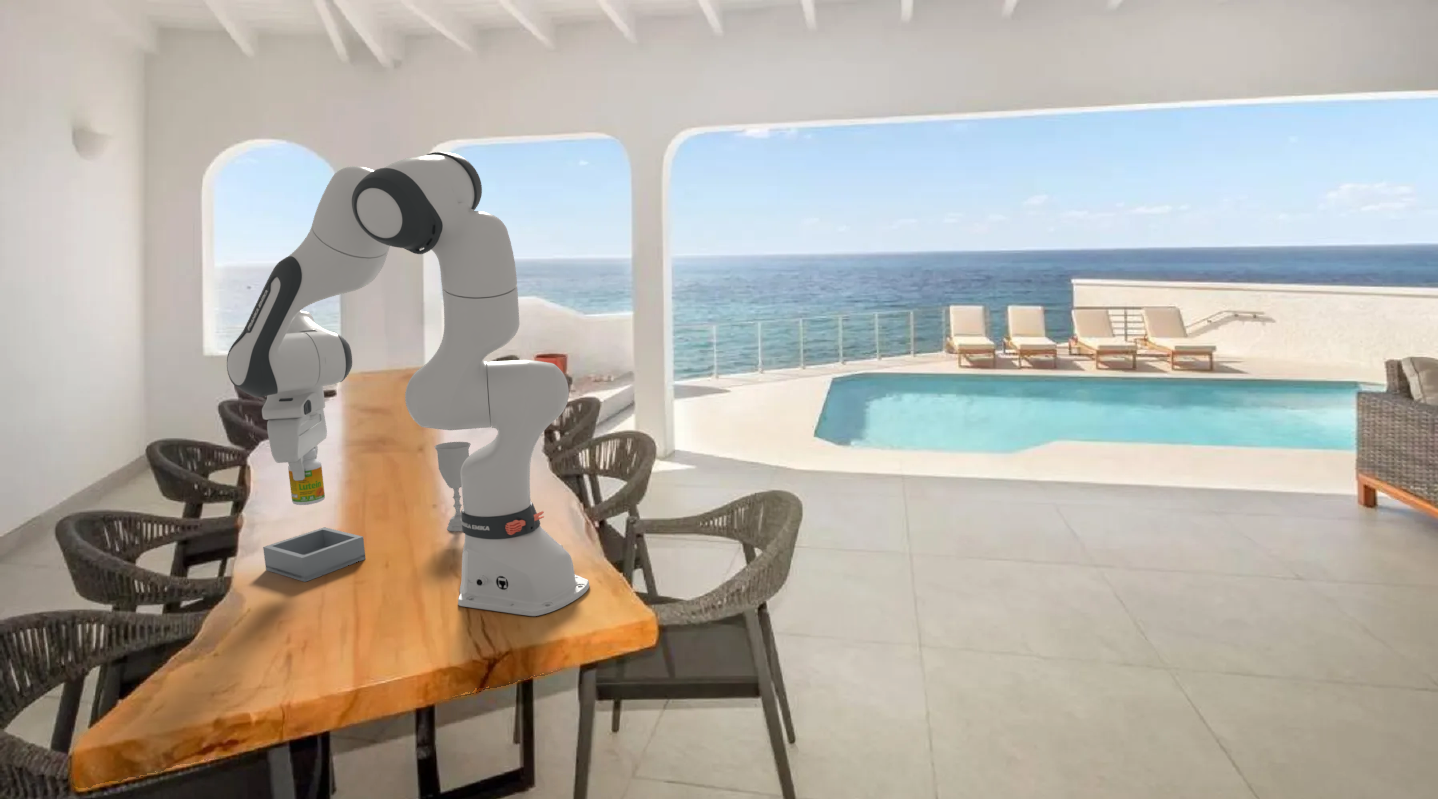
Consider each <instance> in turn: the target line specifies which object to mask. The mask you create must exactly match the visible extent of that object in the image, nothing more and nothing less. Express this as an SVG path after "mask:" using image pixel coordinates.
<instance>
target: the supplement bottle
mask: <svg viewBox="0 0 1438 799" xmlns="http://www.w3.org/2000/svg"><path fill="white" fill-rule="evenodd" d="M315 457H316V450H315V449H314V448H313V449H312V450H310V451H309V452H308V453H306V454H305V455H304V456H303V466H304V469H306V478H305V479H303V480H299V481H295V480H294V479H293V473H292V470H291V468H290V466H289V465H288V476H289V478H288V479H289V486H290V494H291V496H290V497H291V502H292V503H293V505H296V506H297V505H298V506H308V505H312V504H317V503H320V502H322V501H323V500H325V498H326V496H325V486H324V476H323V468H322V462H321V461H320V460H319V459H318V458H317V459H315Z"/></svg>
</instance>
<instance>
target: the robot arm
mask: <svg viewBox="0 0 1438 799" xmlns="http://www.w3.org/2000/svg"><path fill="white" fill-rule="evenodd" d="M482 194H483V186H482V181H481V178H480V176H479V173H478V172H477V169H475V167H474V166H473V165H472V164H471V162H470V161H469V160H468V159H466V158H465V157H463V156H461V155H460V154H456V153H452V152H445V151H444V152H443V151H437V152H435V151H434V152H430V153H427V154H425V155H420V156H415V157H406V158H403V159H400V160H397V161H395V162H393V163H391V164H387V166H385V167H382V168H377V169H371V168H368V167H364V166H353V165H352V166H347V167H343V168H341V169H339V170H337V172H335V173H334V175H333V176H332V177H331V179H330V181H328V184H327V185H326V187H325V190H324V192H323V194H322V196H321V198H320V201H319V203H318V204H317V207H316V211H315V214H314V216H313V220H312V224H311V227H310V230H309V232H308V234H307V235H306V236H305V238H304V239H303V241H302V242H301V243H300V245H299V246H298V247H297V248H296V249H295V250H293V251H292V252H291V253H290V254H289V255H288V256H286V257H285V258H283V259H281V260H280V261H279V262H278V263H276V265H275V266H274V268H273V270H272V271H271V273H270V274H269V276H268V278H267V280H266V283H265V284H264V286H263V289H262V291H261V292H260V295H259V297H258V299H257V302H256V303H255V306H254V307H253V310H252V312H251V314H250V316H249V317H248V319H247V322H246V324H245V326H244V328H243V330H242V332H241V333H240V335H239V336H238V337H237V338H236V339H235V341H234V342H233V343H232V345H231V346H230V348H229V349H228V352H227V355H226V356H227V357H226V371H227V375H228V378H229V380H230V382H231V383H232V385H234V386H235V387H236V388H237V389H239V390H241V392H243V393H245V394H247V395H249V396H251V397H254V398H261V397H262V398H263V397H266V400H265V403H264V404H263V406H262V408H261V415H262V419H263V420H268V421H267V425H266V431H267V436H268V443H269V447H270V452H271V455H272V458H273V460H274V462H276V463H277V464H284V463H286V464H288V466H290V468H291V470H292V473H293V479H294V480H295V481H299V480H303V479H305V478H306V469H304V466H303V456H304V455H305V454H306V453H308V452H309V451H310V450H312V449H313V448H314V449H315V450H316V457H315V459H317V460H318V451H319V449H318V445H319V444H320V443H322V442H323V441H325V439H327V436H328V435H327V434H328V433H327V432H328V431H327V423H326V418H325V410H324V409H325V407H326V402H325V392H324V387H327V386H332V385H336V384H338V383H342V382H343V381H344V380H345V379H346V378H347V377H348V376H349V373H350V372H351V369H352V367H353V354H352V349H351V346H350V344H349V343H348V341H347V340H346V339H345V338H344V337H343V336H342V335H340V334H339V333H338V332H336V331H330V330H328V329H325V328H323V327H322V326H320V325H319V324H317V323H316V322H315V320H314V317H313V315H312V314H311V312H309V311H305V310H303V309H305V308H306V307H309V306H310V305H312V304H314V303H317V302H319V301H322V300H325V299H329V298H332V297H336V296H339V295H342V294H347V293H351V292H354V291H356V290H360V289H362V288H364V287H366V286H367V285H370V284H371V283H372V282H373V281H374V280H375V279H376V278H377V277H378V275H379V274H380V273H381V271H382V269H383V267H384V265H385V263H386V260H387V257H388V252H389V250H390V248H391V247H393V248H398V249H404V250H406V251H408V252H411V253H413V254H414V255H415V254H416V255H423V254H427V253H428V252H430V251H432V252H433V253H434V254H435V256H436V257H437V260H438V264H439V271H440V280H441V282H440V283H441V289H442V290H441V291H442V300H443V316H444V318H443V319H444V322H443V325H444V327H443V334H442V339H441V343H440V345H439V347H438V349H437V350H436V351H435V353H434V354H433V356H432V357H431V358H430V360H429V361H428V362H427V363H426V364H424V365H423V366H421V367H420V368H418V369H417V370H416V371H415V372H414V373H413V374H412V376H411V377H410V379H409V380H408V383H407V385H406V388H405V394H404V400H405V401H404V402H405V406H406V408H407V411H408V413H409V415H410V418H412V420H413V421H414V422H415V423H416V424H417V425H418V426H420V427H421V428H427V429H432V430H444V431H458V430H459V431H460V430H474V429H475V430H476V429H487V428H488V429H489V428H492V429H495V430H497V435H496V436H495V438H494V439H492V441H491V442H490V443H488V444H486V445H484V446H482V447H480V448H479V449H477V450H475V451H474V452H472V453H470V454H469V456H468V457H467V458H466V460H465V461H464V463H463V465H462V467H461V472H460V474H461V486H462V487H461V493H462V494H461V497H462V509H461V510H460V512H461V524H462V531H461V532H462V533H463V534H464V541H463V542H464V544H463V549H462V556H461V579H460V580H461V581H460V582H461V583H460V586H459V596H458V598H457V605H458V606H460V607H466V608H470V609H471V608H472V609H479V610H486V611H492V612H501V613H506V614H507V613H508V614H513V615H522V616H526V617H527V616H529V617H536V616H537V617H538V616H542V615H545V614H549V613H553V612H555V611H557V610H559V609H562V608H564V607H566V606H567V605H569V604H571V603H573V602H575V601H576V600H578V599H579V598H581V597H582V596H584V594H585V593H587V591H588V590H589V588H590V582H589V579H587V578H585V577H582V576H580V575H578V574H575V568H574V562H573V559H572V556H571V554H570V552H568V551H567V550H566V549H565V548H564V546H563V545H562V544H561V543H559V542H558V541H556V540H555V539H554V538H553V537H552V536H551V535H550V534H549V533H548V532H547V531H546V530H545V529H544V528H543V527H542V526H541V519H543V518H545V516H544V515H543V514H544V512H545V511H544V510H542V511H539V512H537V510H536V508H535V506H534V503H533V502H532V501H531V483H530V482H531V462H532V457H533V452H534V448H535V447H536V445H537V442H538V441H539V439H540V437H541V436H542V435H543V433H544V432H545V430H546V429H547V428H548V427H549V426H550V425H551V424H552V423H553V422H555V420H557V419H558V418H559V417H560V416H561V415H562V414H563V412H564V411H565V409H566V407H567V404H568V400H569V395H570V390H569V384H568V380H567V377H566V375H565V374H564V372H563V371H562V370H561V369H560V368H559V367H558V365H556V364H555V363H553V362H546V361H541V360H532V359H516V360H514V359H512V360H498V361H497V360H495V361H486V360H484V359H485V358H487V356H489V355H490V354H491V353H493V352H495V351H497V350H499V349H501V348H502V347H504V346H506V345H507V344H509V343H510V341H512V340H513V339H514V338H515V336H516V335H517V333H518V330H519V327H520V310H519V307H520V306H519V293H518V278H517V268H516V261H515V257H514V256H515V255H514V251H513V246H512V242H511V239H510V235H509V231H508V229H507V226H506V225H505V224H504V222H503V221H502V220H501V219H500V218H499V217H497V216H496V215H493V214H491V213H488V212H485V211H482V210H481V211H480V210H479V211H478V210H476V209H477V208H478V206H479V204H480V201H481V199H482V196H483V195H482ZM542 515H543V516H542Z"/></svg>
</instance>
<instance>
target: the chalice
mask: <svg viewBox="0 0 1438 799" xmlns="http://www.w3.org/2000/svg"><path fill="white" fill-rule="evenodd" d="M470 446H471V443H470V442H468V441H450V442H443V443H439V444H436V445H435V446H434V449H435V450H436V452H437V461H438V470H439V472H440V474H441V477H442V479H443V480H444V481H445V483H446V485H447V486H448V487H449V488H450V489H452V490H453V497H452V498H453V500H454V503H453V508H454V509H455V510H454V511H455V513H454V515H453V516H451V518H450V519H449V522H448V523H447V525H448V526H447V528H446V530H447V531H449V532H463V531H462V524H461V507H463V504H462V503H461V502H460V499H461V497H462V495H460V492H459V490H460V488H462V486H461V474H460V472H461V467H462V465H463V463H464V461H465V460H466V458H467V457H468V456H470V453H469V452H470V450H469V448H470Z"/></svg>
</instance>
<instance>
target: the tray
mask: <svg viewBox="0 0 1438 799" xmlns="http://www.w3.org/2000/svg"><path fill="white" fill-rule="evenodd" d="M262 550H263V557H264V563H265V570H266V571H268V572H272V573H275V574H277V575H281V576H284V577H288V578H292V579H295V580H298V581H300V582H304V583H306V582H309V581H311V580H314V579H316V578H320V577H322V576H325V575H327V574H330V573H332V572H335V571H338V570H340V569H343V568H345V567H348V565H349V566H351V565H354V564H357V563H358V561H359V562H362V561H364V560H366V551H365V550H366V548H365V542H364V536H362V535H358V534H354V533H349V532H345V531H342V530H338V529H334V528H333V529H332V528H330V527H320V528H318V529H314V530H312V531H308V532H306V533H302V534H299V535H295V536H293V537H289V538H287V539H284V540H281V541H278V542H274V543H271V544H268V545H265V546H263V547H262ZM356 562H357V563H356Z"/></svg>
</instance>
